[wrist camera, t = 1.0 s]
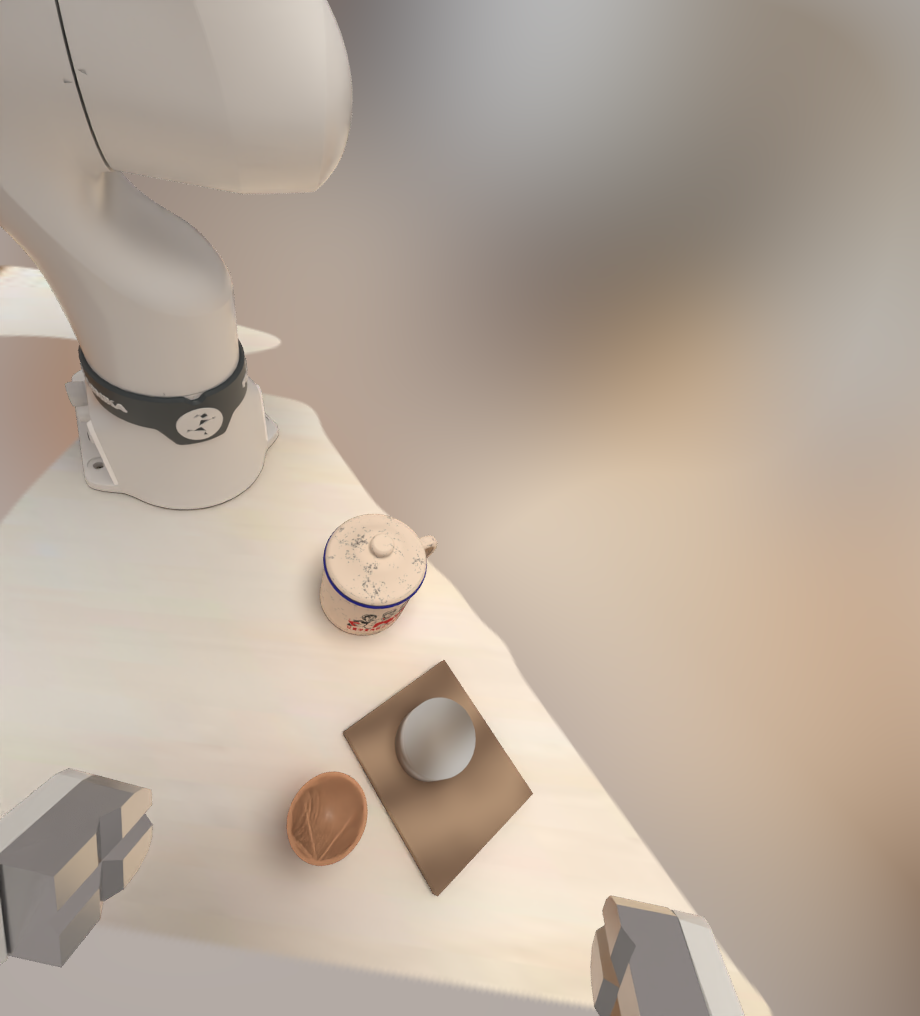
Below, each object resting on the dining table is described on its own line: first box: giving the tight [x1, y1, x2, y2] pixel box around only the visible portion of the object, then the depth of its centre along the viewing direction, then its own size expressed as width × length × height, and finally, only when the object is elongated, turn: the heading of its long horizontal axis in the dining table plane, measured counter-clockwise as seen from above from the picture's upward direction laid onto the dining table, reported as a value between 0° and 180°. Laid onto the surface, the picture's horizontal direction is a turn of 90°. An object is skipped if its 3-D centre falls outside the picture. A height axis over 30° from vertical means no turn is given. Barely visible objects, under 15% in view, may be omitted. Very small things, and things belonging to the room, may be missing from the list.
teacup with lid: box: [320, 514, 437, 635], centre depth 43 cm, size 12×9×12 cm
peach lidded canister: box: [287, 772, 367, 866], centre depth 32 cm, size 5×5×10 cm
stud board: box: [343, 660, 533, 896], centre depth 38 cm, size 14×11×5 cm
